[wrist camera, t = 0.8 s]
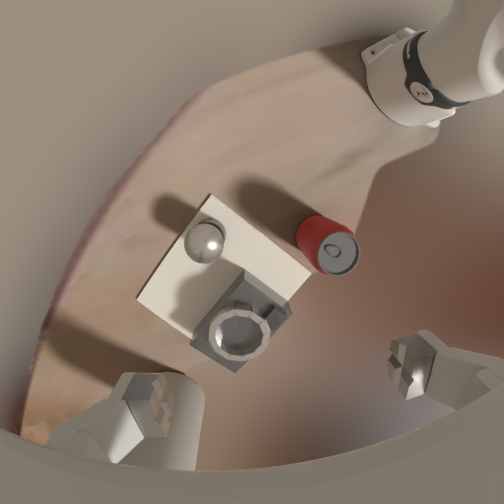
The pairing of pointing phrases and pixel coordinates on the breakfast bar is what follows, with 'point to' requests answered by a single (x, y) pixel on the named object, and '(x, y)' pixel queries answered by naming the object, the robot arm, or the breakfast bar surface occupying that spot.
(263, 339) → the camera body
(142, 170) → the breakfast bar surface
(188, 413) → the cylinder vase
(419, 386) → the robot arm
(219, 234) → the lens
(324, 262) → the beer can
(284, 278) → the mat
